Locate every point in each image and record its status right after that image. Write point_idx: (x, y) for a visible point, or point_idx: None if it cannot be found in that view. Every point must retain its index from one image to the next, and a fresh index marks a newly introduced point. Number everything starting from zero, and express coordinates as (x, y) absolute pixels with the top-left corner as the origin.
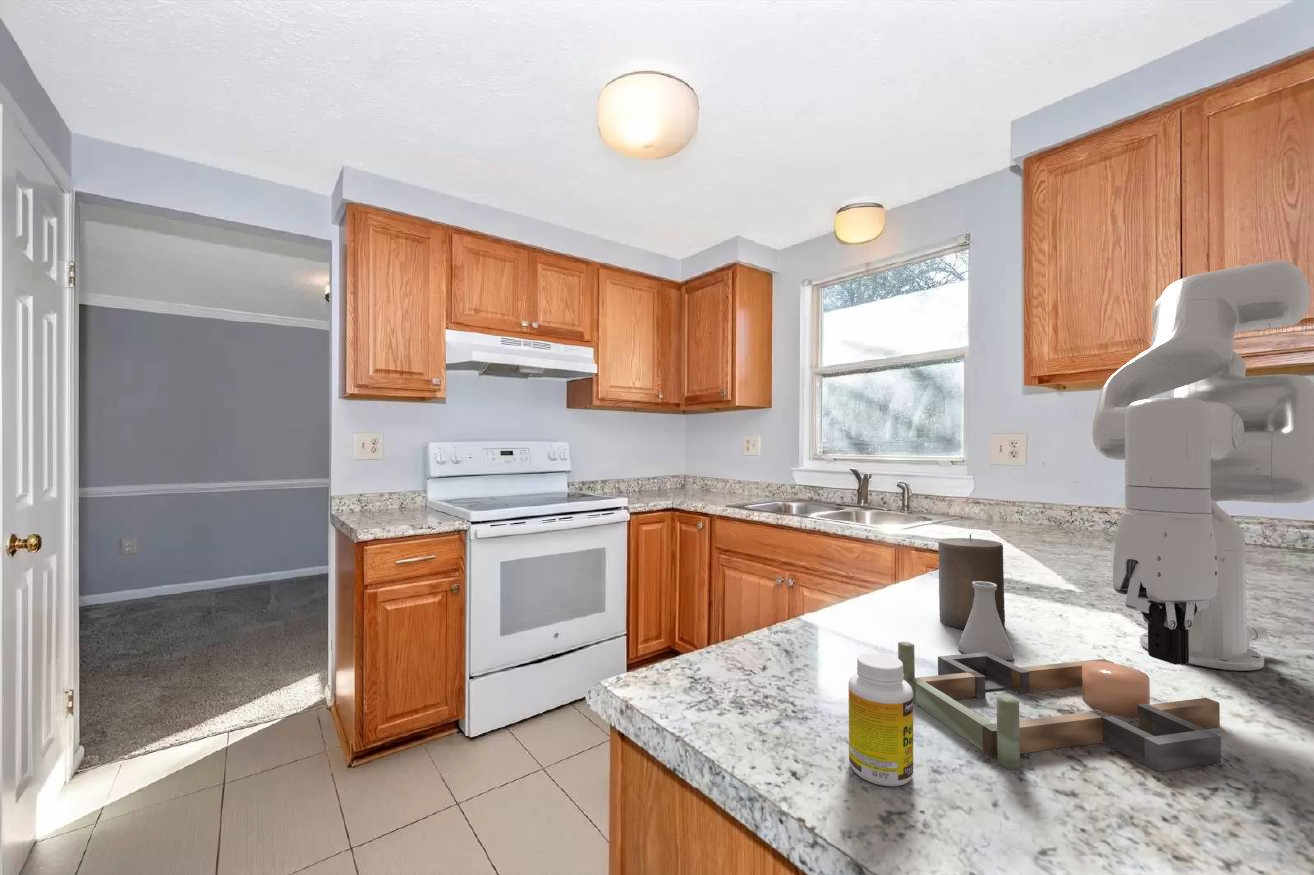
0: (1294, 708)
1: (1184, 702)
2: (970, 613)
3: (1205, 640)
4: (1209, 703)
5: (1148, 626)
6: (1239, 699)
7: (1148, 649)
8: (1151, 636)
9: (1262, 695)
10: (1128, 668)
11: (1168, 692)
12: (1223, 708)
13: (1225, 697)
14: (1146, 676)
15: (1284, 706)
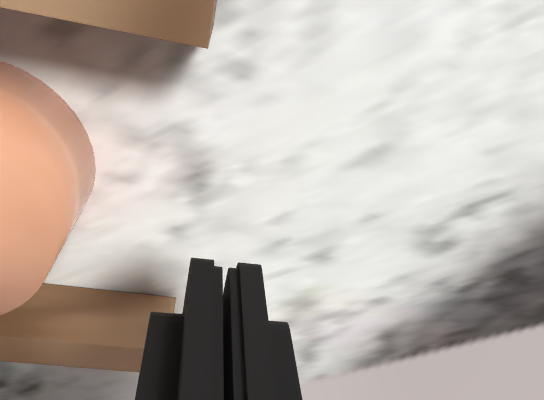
0: (487, 327)
1: (53, 349)
2: None
3: None
4: (128, 369)
5: (183, 386)
6: (444, 263)
7: (191, 273)
8: (142, 372)
9: (538, 271)
10: (21, 233)
11: (311, 164)
12: (321, 275)
13: (427, 244)
14: (16, 299)
15: (483, 315)
